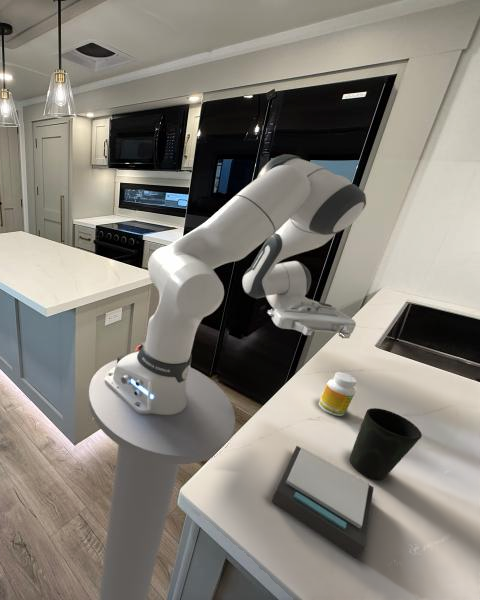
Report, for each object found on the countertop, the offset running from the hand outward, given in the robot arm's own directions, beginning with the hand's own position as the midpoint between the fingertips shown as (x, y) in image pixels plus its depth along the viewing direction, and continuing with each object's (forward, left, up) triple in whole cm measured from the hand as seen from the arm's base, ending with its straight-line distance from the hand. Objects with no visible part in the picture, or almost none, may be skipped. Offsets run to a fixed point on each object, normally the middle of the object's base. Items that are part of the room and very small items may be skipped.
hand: (328, 334), depth 82 cm
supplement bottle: (+7, -9, -15) cm, 19 cm away
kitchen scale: (+10, -40, -15) cm, 44 cm away
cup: (+15, -25, -15) cm, 33 cm away
